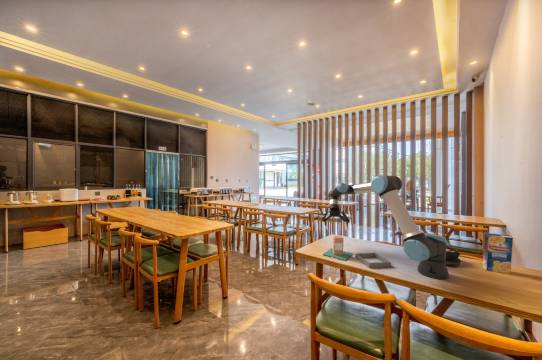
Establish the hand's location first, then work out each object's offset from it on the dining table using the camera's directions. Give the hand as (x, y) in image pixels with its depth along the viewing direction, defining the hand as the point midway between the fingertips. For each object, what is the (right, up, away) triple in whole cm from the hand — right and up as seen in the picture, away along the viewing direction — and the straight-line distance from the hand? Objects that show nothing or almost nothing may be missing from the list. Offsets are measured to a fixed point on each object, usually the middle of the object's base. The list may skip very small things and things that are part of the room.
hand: (336, 229), depth 171 cm
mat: (-1, -16, -6) cm, 17 cm away
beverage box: (+91, -20, -26) cm, 97 cm away
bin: (+18, -17, -18) cm, 31 cm away
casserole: (+70, -19, -12) cm, 73 cm away
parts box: (-1, -16, -6) cm, 17 cm away
